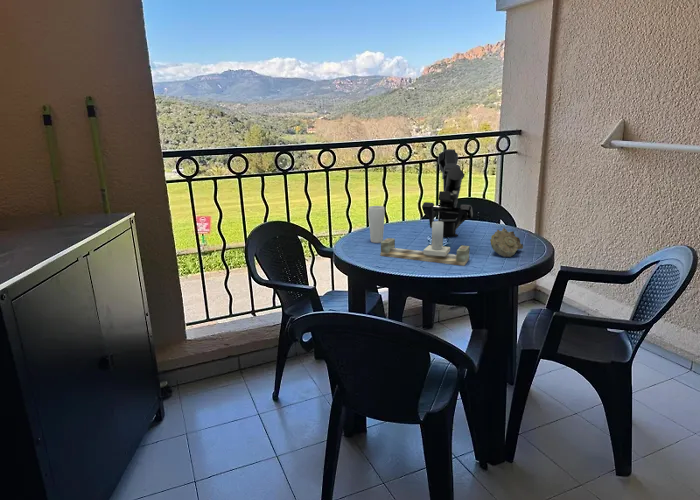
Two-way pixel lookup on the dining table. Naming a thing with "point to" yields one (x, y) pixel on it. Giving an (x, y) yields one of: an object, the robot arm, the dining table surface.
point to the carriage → (437, 241)
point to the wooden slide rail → (391, 251)
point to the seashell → (505, 243)
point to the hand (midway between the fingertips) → (442, 228)
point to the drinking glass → (376, 223)
